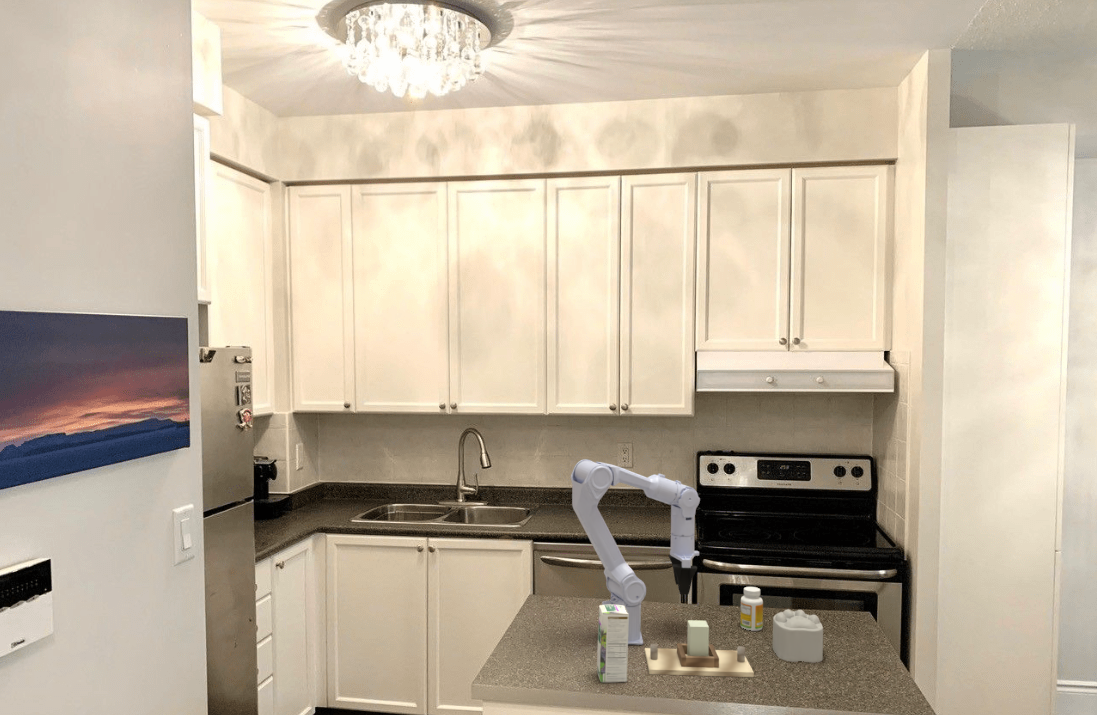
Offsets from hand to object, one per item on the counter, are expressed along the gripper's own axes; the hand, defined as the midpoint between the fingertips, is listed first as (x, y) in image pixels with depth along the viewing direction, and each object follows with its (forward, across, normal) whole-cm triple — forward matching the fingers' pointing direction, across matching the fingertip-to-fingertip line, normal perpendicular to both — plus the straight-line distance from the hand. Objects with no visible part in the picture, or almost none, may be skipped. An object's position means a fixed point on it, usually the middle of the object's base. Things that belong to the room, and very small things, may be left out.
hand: (682, 589), depth 193 cm
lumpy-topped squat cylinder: (+11, -10, -25) cm, 29 cm away
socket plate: (+10, -20, -1) cm, 23 cm away
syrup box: (+10, -28, +18) cm, 35 cm away
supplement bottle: (+11, +4, -18) cm, 21 cm away
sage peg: (+9, -20, -1) cm, 22 cm away
